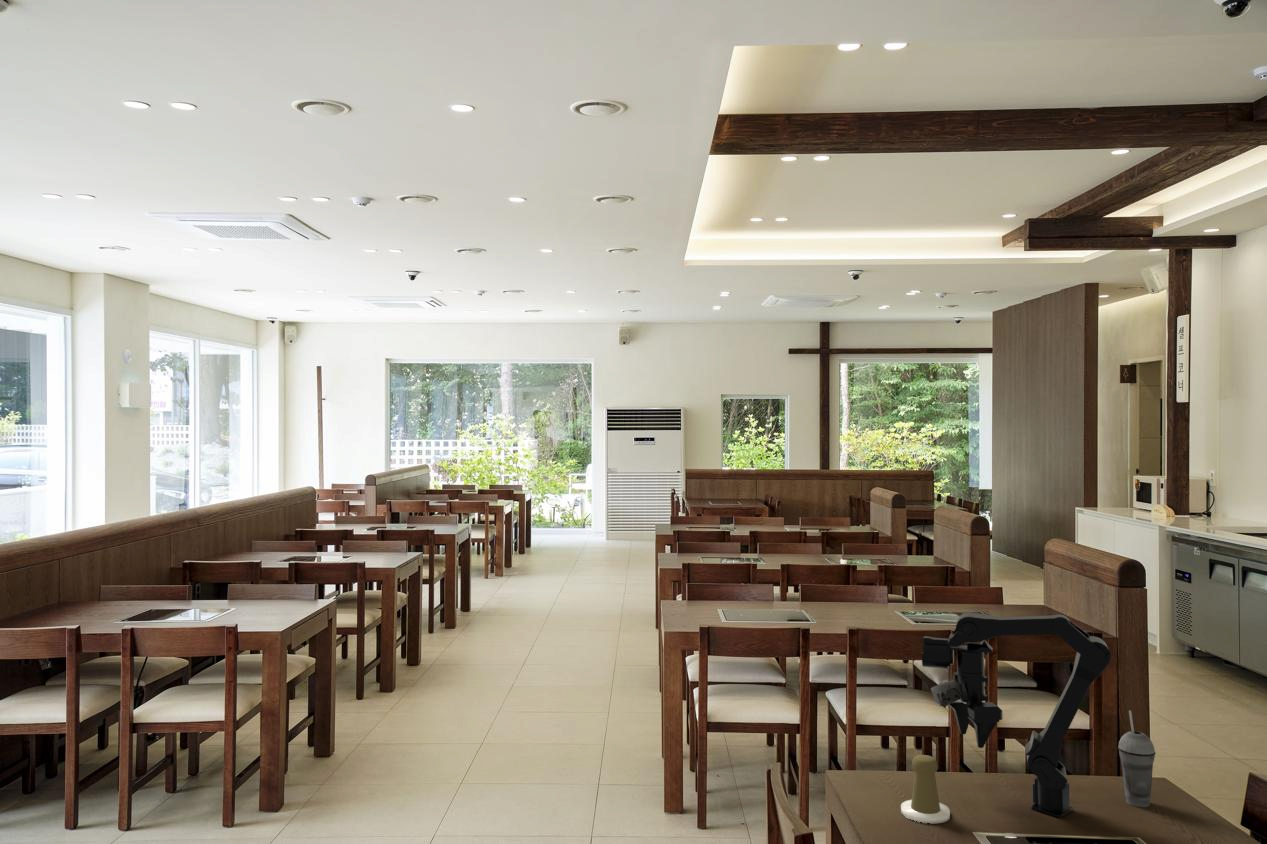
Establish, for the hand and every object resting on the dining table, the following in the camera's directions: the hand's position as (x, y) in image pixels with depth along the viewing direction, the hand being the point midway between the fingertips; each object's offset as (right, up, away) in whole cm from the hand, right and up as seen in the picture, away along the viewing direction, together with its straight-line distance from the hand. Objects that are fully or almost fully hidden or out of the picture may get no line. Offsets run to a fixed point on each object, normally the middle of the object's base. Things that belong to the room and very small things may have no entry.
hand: (971, 740), depth 203 cm
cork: (-13, -12, -8) cm, 19 cm away
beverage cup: (+35, -13, -3) cm, 38 cm away
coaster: (-13, -13, -8) cm, 20 cm away
